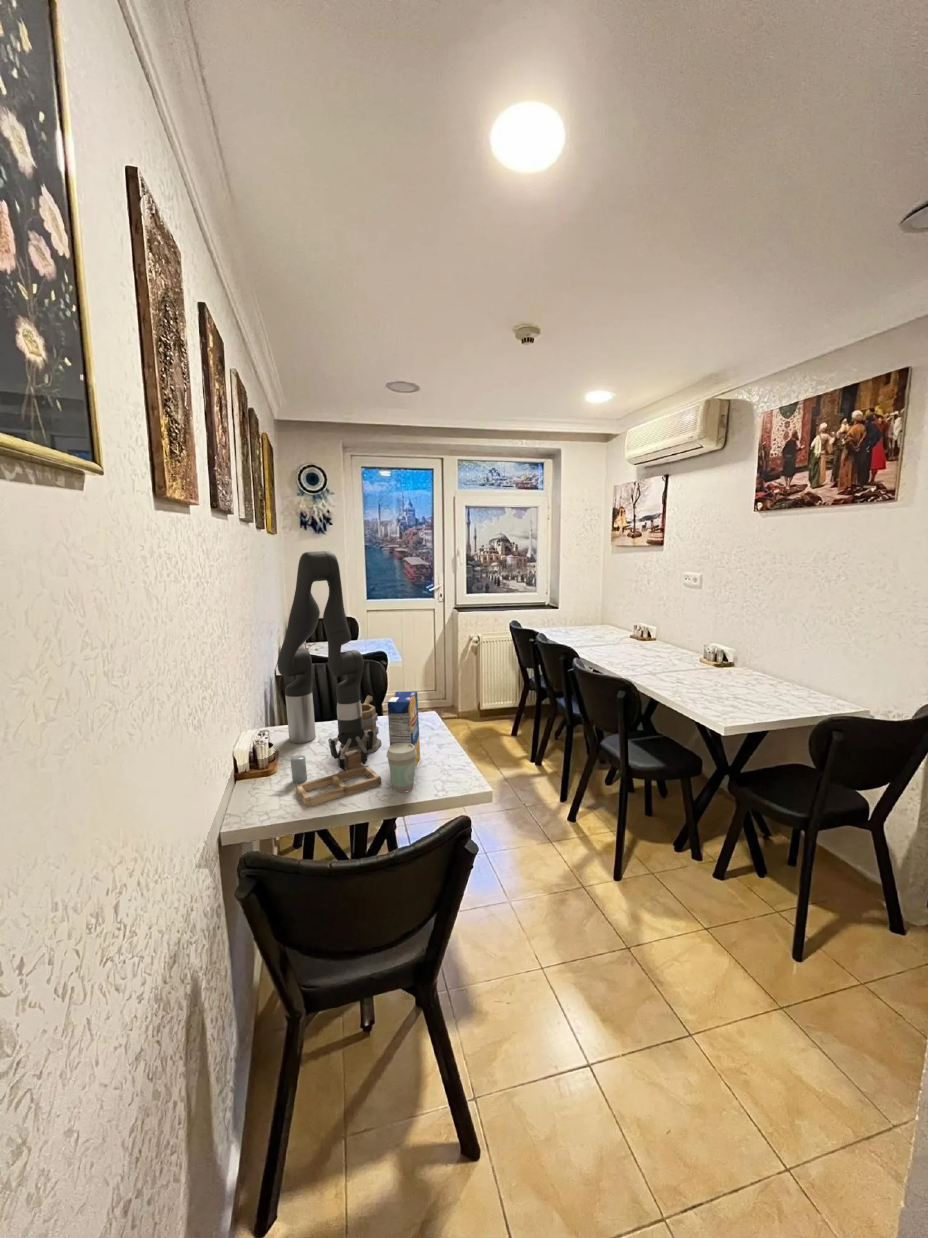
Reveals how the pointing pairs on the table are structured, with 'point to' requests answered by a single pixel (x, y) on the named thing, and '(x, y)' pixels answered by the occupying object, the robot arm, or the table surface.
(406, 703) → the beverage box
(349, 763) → the walnut block
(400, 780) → the coffee cup
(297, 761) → the grey shaker
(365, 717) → the tankard
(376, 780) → the frame
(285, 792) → the table surface
